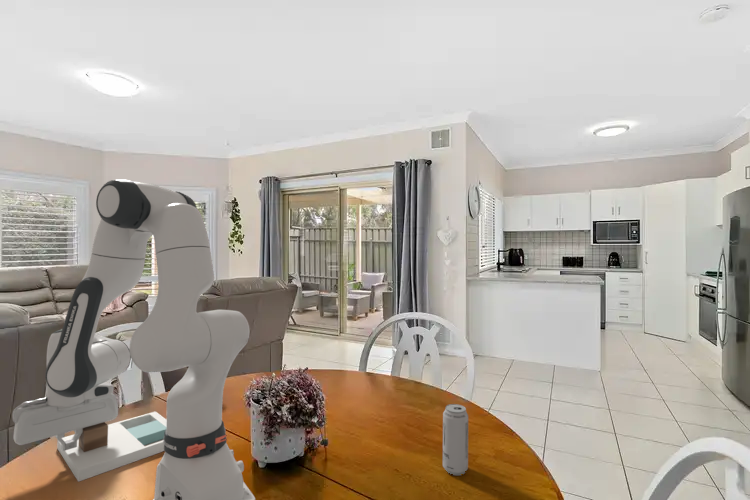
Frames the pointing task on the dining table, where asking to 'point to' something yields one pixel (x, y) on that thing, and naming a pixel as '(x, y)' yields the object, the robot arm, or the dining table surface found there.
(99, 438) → the walnut block
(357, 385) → the dining table surface
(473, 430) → the dining table surface
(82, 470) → the board
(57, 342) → the robot arm
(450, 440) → the energy drink can
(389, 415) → the dining table surface
